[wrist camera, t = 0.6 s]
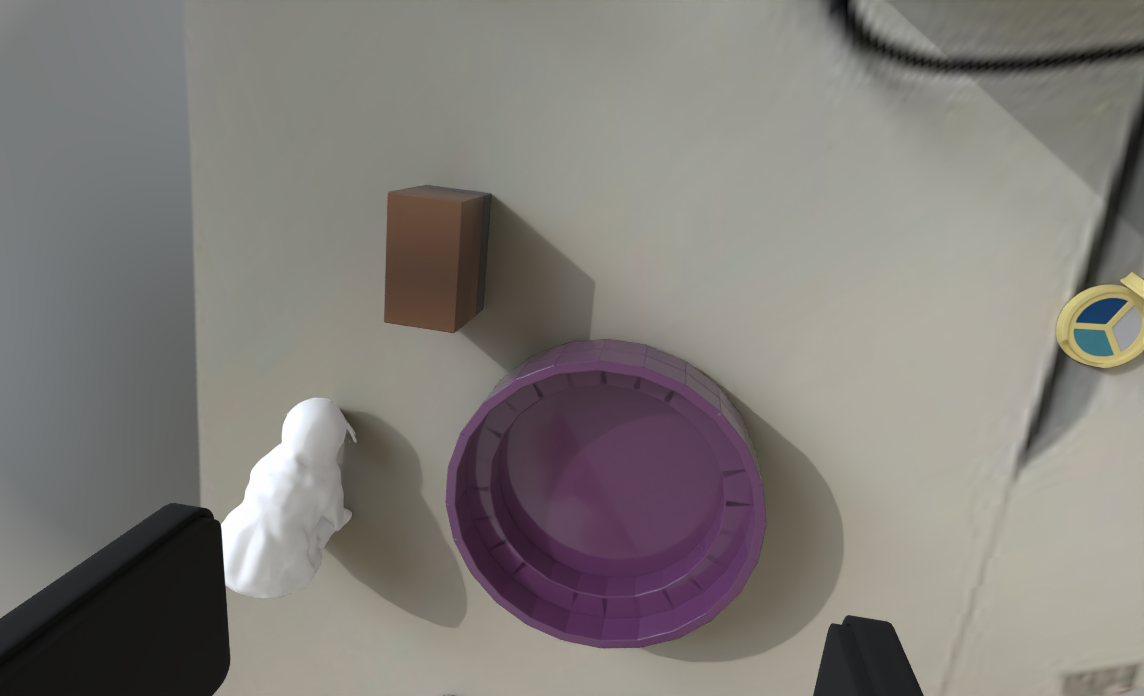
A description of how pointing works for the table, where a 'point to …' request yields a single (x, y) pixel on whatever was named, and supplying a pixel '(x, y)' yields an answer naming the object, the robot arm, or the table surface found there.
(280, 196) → the table surface
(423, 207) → the brown rectangular block
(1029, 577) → the table surface
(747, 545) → the bowl
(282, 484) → the white lumpy piece
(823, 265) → the table surface
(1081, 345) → the eyeshadow
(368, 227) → the table surface
